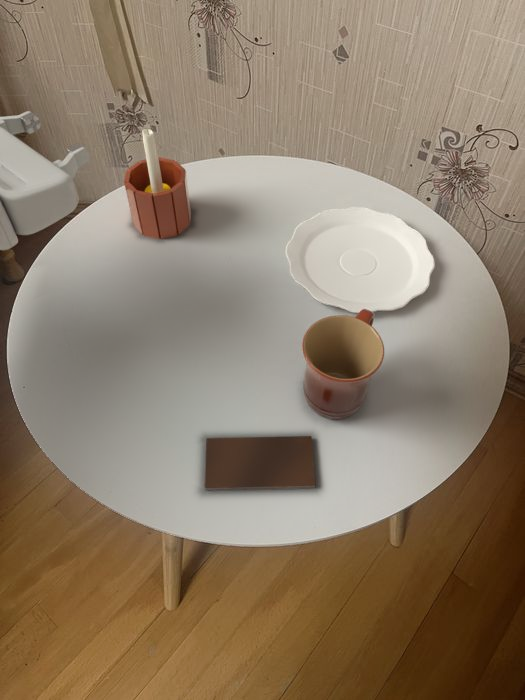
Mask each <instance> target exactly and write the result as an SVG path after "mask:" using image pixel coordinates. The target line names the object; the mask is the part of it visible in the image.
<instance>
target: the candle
mask: <svg viewBox="0 0 525 700" xmlns="http://www.w3.org/2000/svg"><path fill="white" fill-rule="evenodd" d="M141 134H142V142H143V147H144V154H145V159H146V160H147V166H148V171H149V177H150V183H151V185H149V186H147V187H146V189H145V192H148V193H158V192H162V191H167V190H170V189H171V188H170V187H169V186H168V185H167V184H164V183H162V177H161V171H160V166H159V160H158V158H159V154H158V148H157V144H156V139H155V134H154V131H153V130H152V129H150V128H144V129H142V130H141Z"/></svg>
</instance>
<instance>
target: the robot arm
mask: <svg viewBox="0 0 525 700" xmlns="http://www.w3.org/2000/svg"><path fill="white" fill-rule="evenodd" d="M41 127H42V123H41V122H40V118H39V116H38V115H36V114H35V113H33V112H32V111H30V110H27V111H25V112H22V113H21V114H18V115H7V116H0V251H7V250H10V249H12V248H13V247H15V246H16V245H17V244H18V243H19V238H18V236H17V235H19V236H29V235H33V234H35V233H38V232H41V231H42V230H44V229H46V228H48V227H50V226H52V225H53V224H55V223H57V222H58V221H61V220H62V219H64V218H65V217H66V216H69V215H70V214H71V213H73V212H74V211H75V210H76V209H77V206H78V204H79V201H80V198H79V197H80V196H79V194H78V193H79V192H78V191H77V187H76V184H75V182H74V178H75V176H76V174H77V173H78V170H79V169H80V168H81V167H82V166H84V165H86V164H88V163H89V162H90V160H91V156H90V153H89V150H88V149H87V148H86V147H85V146H83V145H81V144H80V143H74V144H73V145H71V146H69V147H67V148H66V153H67V155H66V156H65V158H64V159H63V160H61V159H56V160H55V161H53V162H52V161H50V160H49V159H47V158H46V157H45V156H44V155H42V154H40V153H39V152H38V151H36V149H33V148H32V147H31V146H30V145H28V144H26V143H25V142H23V140H21V139H19V138H18V137H16V135H18V134H22V133H23V134H24V133H27V134H29V135H32V134H33V133H35V132H36V131H39V130H40V129H41Z"/></svg>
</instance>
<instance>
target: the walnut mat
mask: <svg viewBox="0 0 525 700" xmlns="http://www.w3.org/2000/svg"><path fill="white" fill-rule="evenodd" d="M204 463H205V466H204V490H205V491H237V490H238V491H242V490H245V491H247V490H284V489H285V490H287V489H288V490H290V489H291V490H292V489H315V488H316V475H315V463H314V451H313V441H312V436H311V435H300V436H298V435H297V436H296V435H293V436H291V435H290V436H249V437H248V436H246V437H244V436H243V437H241V436H239V437H207V438H206V439H205V461H204Z"/></svg>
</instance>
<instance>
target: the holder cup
mask: <svg viewBox="0 0 525 700" xmlns="http://www.w3.org/2000/svg"><path fill="white" fill-rule="evenodd" d="M158 160H159V166H160V171H161V177H162V183H164V184H167V185H168V186H169V187H170V188H171V189H170V190H167V191H162V192H158V193H148V192H145V189H146V187H147V186H149V185H151V183H150V177H149V171H148V166H147V160H146V158H145V159H141V160H139V161H137V162H135V163H134V164H133V165H131V166H130V167H129V168H127V169H126V171H125V173H124V174H125V175H124V180H123V184H124V189H125V193H126V196H127V197H126V198H127V201H128V205H129V209H130V214H131V219H132V223H133V227H134V228H135V229H136V230H137V231H138V232H139V233H140V234H141V235H142V236H144V237H147V238H151V239H157V240H165V239H169V238H173V237H176V236H178V235H181V234H182V233H183V232H184V231H185V230H187V228H189V227H190V225H191V218H192V211H191V202H190V193H189V185H188V180H187V179H188V178H187V171H186V169H185V167H183V166H182V165H181V164H180V163H179V162H178V161H177V160H176V161H175V160H174V159H171V158H165V157H160V156H158Z"/></svg>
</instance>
